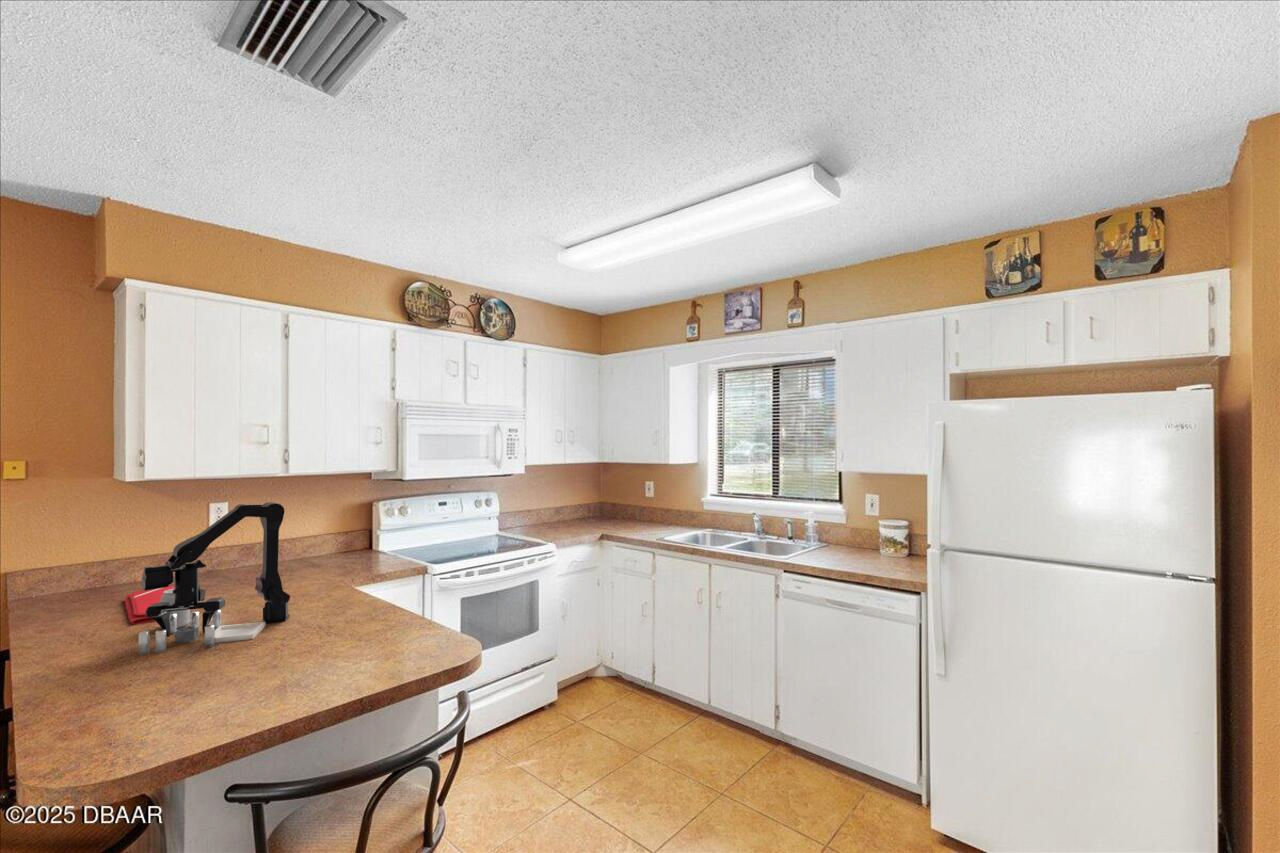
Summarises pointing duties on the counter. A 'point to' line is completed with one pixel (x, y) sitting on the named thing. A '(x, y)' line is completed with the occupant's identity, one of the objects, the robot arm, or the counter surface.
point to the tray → (237, 632)
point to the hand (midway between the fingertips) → (186, 634)
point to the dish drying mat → (143, 604)
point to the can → (182, 615)
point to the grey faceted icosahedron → (186, 634)
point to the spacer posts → (161, 634)
